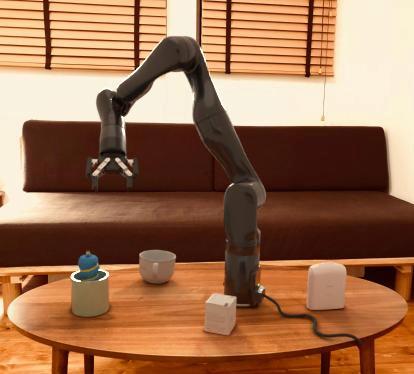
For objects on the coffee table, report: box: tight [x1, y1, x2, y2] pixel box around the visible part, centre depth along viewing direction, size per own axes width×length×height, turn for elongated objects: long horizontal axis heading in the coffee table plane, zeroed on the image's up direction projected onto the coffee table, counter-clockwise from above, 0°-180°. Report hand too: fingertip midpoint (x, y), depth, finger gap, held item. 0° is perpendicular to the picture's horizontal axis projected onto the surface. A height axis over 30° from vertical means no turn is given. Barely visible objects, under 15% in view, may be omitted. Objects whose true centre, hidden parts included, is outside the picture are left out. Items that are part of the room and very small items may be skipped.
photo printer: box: [306, 261, 347, 311], centre depth 123 cm, size 10×4×12 cm, turn 100°
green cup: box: [70, 269, 110, 318], centre depth 118 cm, size 9×9×9 cm
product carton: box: [203, 292, 237, 336], centre depth 110 cm, size 6×6×7 cm
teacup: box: [138, 249, 177, 284], centre depth 137 cm, size 14×11×8 cm
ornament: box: [77, 251, 101, 281], centre depth 117 cm, size 5×5×15 cm
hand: (112, 189), depth 126 cm, fingers open, 8 cm apart
